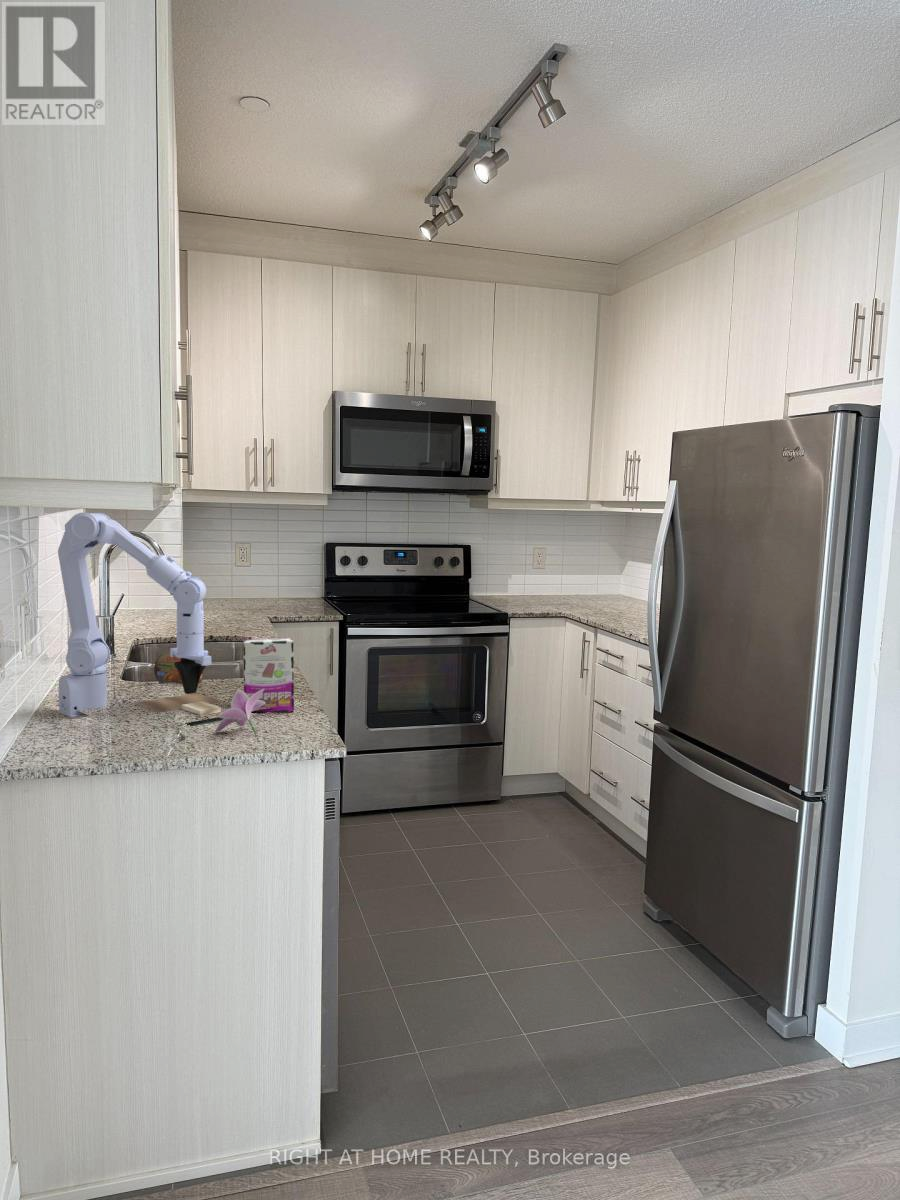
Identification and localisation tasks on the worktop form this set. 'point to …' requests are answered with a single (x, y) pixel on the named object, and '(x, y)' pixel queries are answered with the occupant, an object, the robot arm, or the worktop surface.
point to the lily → (240, 709)
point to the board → (175, 702)
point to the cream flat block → (201, 708)
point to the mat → (205, 721)
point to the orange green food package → (168, 669)
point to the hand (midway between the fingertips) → (190, 693)
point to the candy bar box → (270, 673)
